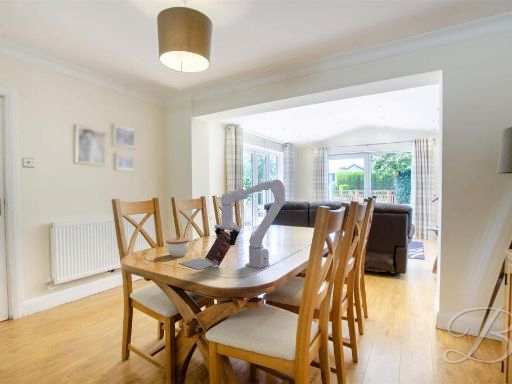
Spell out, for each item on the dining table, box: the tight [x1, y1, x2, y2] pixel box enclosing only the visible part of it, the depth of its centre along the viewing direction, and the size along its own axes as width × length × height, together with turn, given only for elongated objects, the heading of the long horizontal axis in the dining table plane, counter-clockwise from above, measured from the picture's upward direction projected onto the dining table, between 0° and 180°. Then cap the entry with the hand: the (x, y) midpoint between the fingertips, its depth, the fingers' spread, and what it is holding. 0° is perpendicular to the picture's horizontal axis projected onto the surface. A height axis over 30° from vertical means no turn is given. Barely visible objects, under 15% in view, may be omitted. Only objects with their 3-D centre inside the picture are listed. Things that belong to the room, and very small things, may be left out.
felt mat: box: [178, 257, 216, 271], centre depth 137 cm, size 17×13×1 cm
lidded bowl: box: [166, 236, 190, 258], centre depth 155 cm, size 13×13×11 cm
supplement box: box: [204, 230, 232, 267], centre depth 132 cm, size 9×5×16 cm
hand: (226, 244), depth 134 cm, fingers open, 7 cm apart
